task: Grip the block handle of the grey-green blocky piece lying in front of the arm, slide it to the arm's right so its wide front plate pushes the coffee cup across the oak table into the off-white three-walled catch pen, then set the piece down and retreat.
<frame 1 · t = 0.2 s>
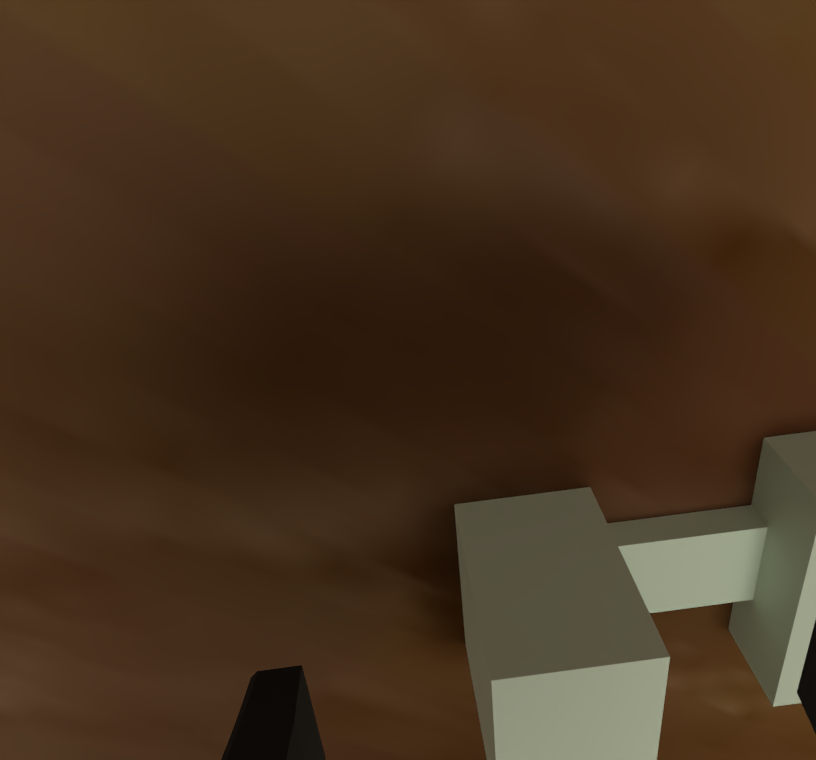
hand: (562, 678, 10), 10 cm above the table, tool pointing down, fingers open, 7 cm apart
grey-green blocky piece: (523, 570, 23), on the table
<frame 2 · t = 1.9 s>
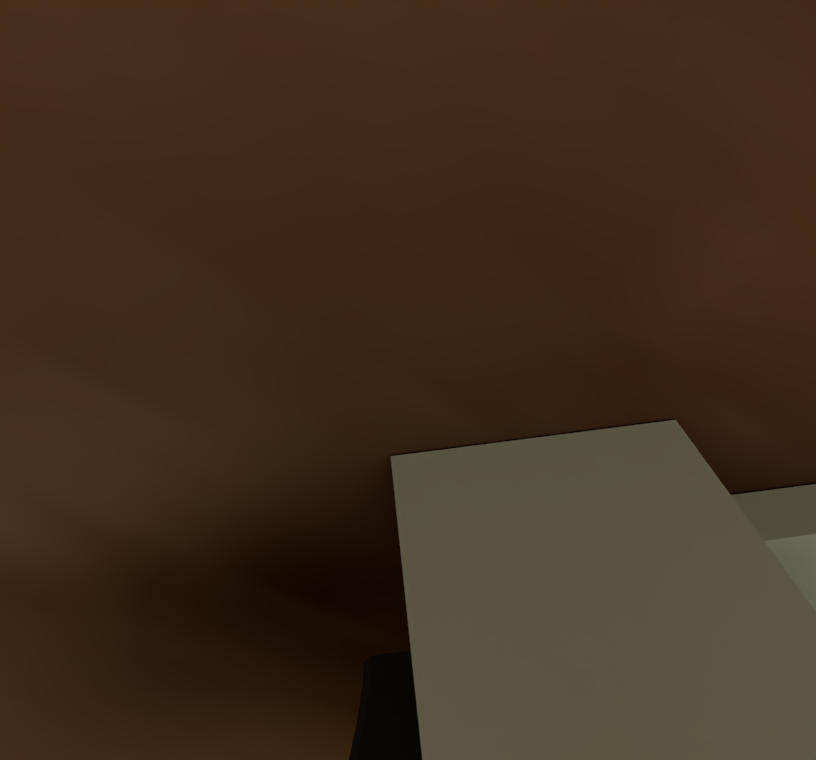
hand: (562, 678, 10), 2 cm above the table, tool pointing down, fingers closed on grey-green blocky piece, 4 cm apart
grey-green blocky piece: (535, 592, 12), on the table, touching gripper
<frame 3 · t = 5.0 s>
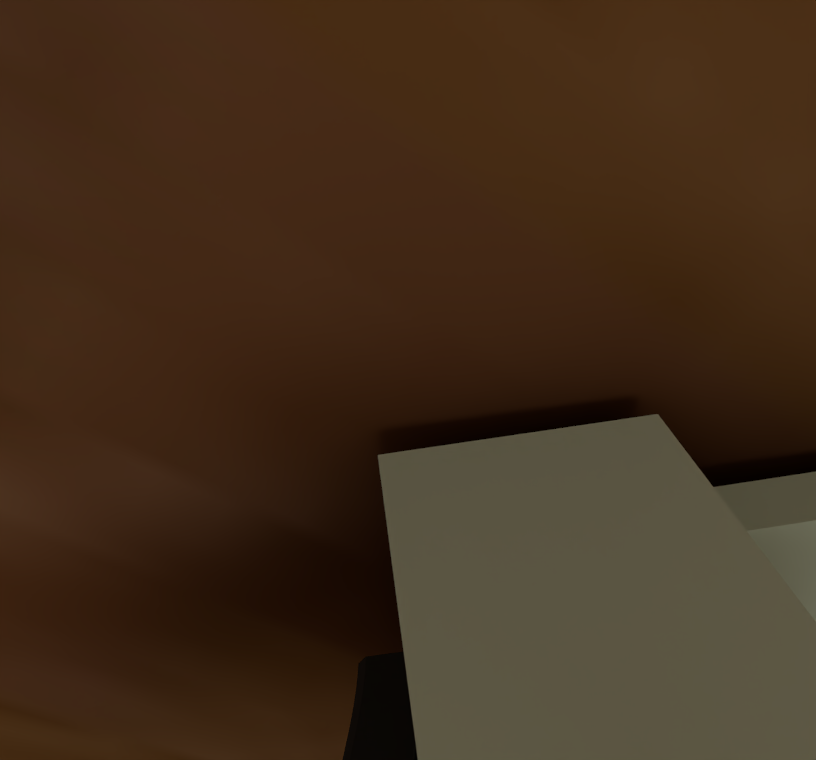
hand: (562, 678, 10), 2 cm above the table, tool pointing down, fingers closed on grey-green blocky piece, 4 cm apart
grey-green blocky piece: (522, 587, 12), point 1 cm above the table, touching coffee cup, gripper
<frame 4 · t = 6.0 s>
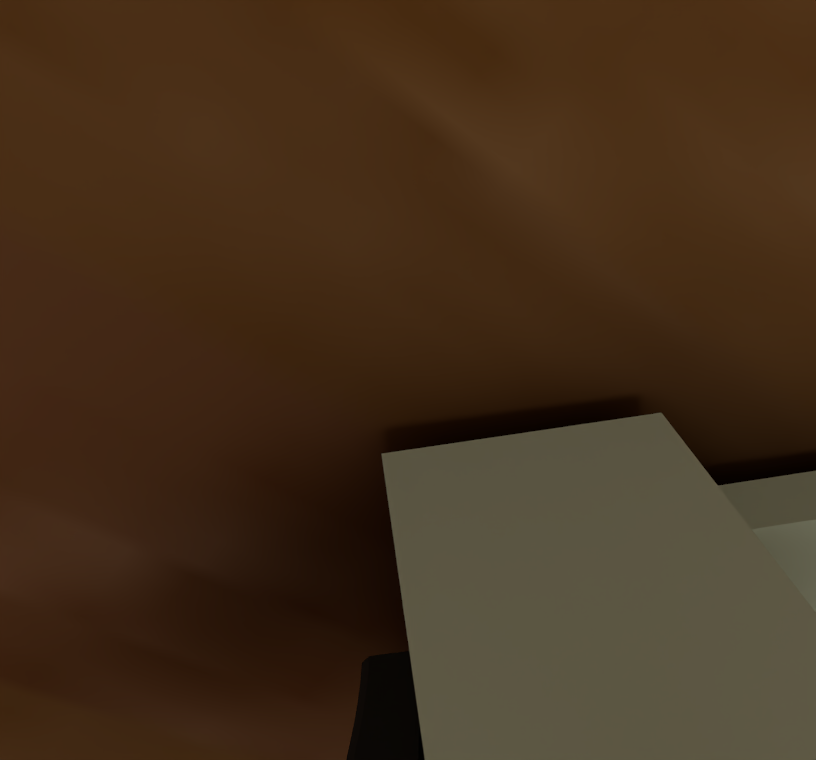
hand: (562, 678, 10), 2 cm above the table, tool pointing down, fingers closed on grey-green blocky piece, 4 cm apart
grey-green blocky piece: (526, 586, 12), point 1 cm above the table, touching coffee cup, gripper
when the fingers open (2 cm above the table, at t = 9.0 s): grey-green blocky piece stays where it is, on the table.
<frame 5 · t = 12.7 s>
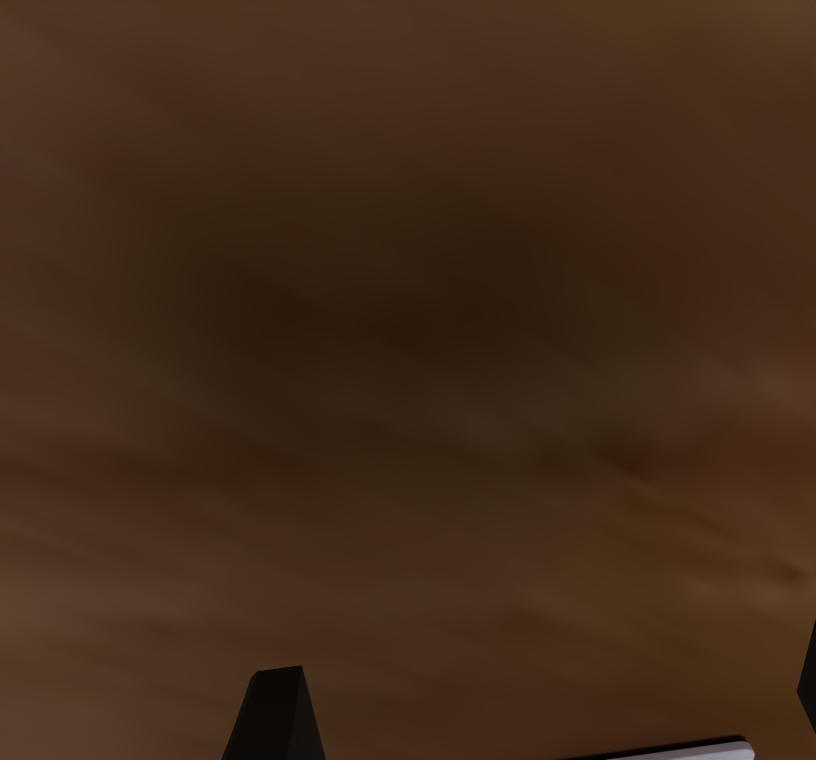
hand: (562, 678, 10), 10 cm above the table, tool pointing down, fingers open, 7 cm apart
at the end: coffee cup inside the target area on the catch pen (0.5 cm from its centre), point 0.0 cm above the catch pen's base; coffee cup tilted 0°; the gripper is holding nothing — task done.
